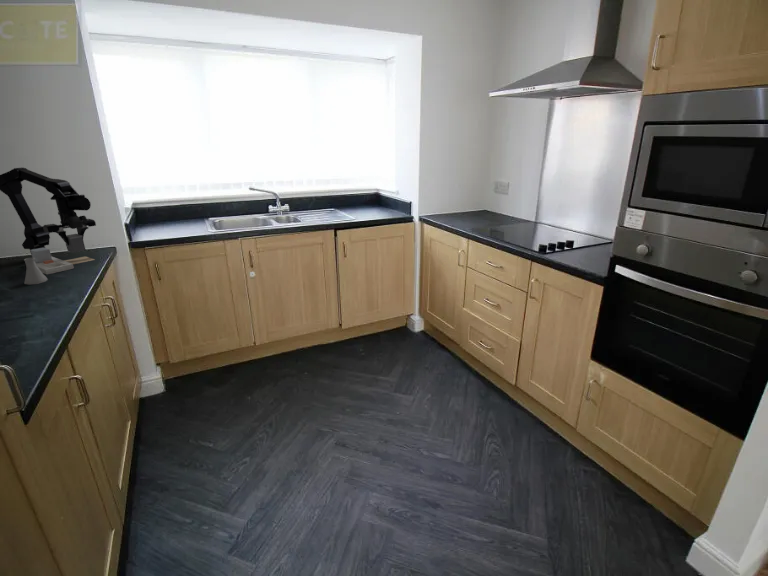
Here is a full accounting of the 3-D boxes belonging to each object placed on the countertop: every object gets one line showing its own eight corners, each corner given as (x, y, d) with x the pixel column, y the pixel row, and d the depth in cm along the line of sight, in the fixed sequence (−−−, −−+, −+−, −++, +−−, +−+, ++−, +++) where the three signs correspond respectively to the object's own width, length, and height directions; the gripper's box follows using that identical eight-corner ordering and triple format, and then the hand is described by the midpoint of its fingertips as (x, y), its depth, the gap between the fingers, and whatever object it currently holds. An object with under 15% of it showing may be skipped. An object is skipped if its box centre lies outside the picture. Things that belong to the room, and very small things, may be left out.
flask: (38, 286, 163) (31, 261, 160) (20, 285, 164) (12, 261, 160) (52, 279, 170) (45, 256, 167) (35, 279, 170) (27, 256, 167)
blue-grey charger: (34, 265, 187) (30, 249, 185) (48, 262, 191) (43, 247, 189) (40, 267, 184) (35, 251, 182) (53, 264, 188) (49, 249, 186)
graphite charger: (67, 250, 192) (63, 235, 190) (79, 248, 196) (76, 233, 194) (73, 252, 189) (69, 237, 187) (85, 250, 193) (82, 235, 191)
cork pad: (63, 261, 194) (63, 260, 194) (85, 257, 201) (85, 256, 201) (73, 265, 189) (73, 264, 188) (95, 260, 196) (95, 259, 195)
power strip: (22, 264, 189) (20, 257, 188) (48, 259, 197) (46, 252, 196) (47, 275, 175) (44, 268, 174) (74, 269, 183) (72, 262, 182)
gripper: (49, 215, 175) (58, 251, 180) (97, 208, 190) (105, 242, 195) (38, 212, 181) (48, 247, 186) (86, 206, 195) (94, 239, 201)
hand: (75, 244), depth 192 cm, fingers closed on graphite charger, 5 cm apart
